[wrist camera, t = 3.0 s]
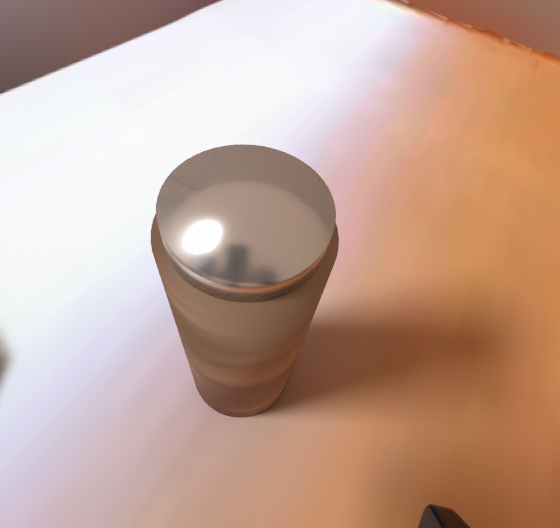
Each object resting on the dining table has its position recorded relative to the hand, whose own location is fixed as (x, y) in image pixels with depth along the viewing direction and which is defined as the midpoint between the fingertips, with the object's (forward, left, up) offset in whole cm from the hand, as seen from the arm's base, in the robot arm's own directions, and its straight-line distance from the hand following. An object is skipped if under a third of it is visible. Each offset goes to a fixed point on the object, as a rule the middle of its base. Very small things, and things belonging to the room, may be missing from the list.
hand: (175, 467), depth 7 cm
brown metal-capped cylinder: (+3, -5, -12) cm, 14 cm away
